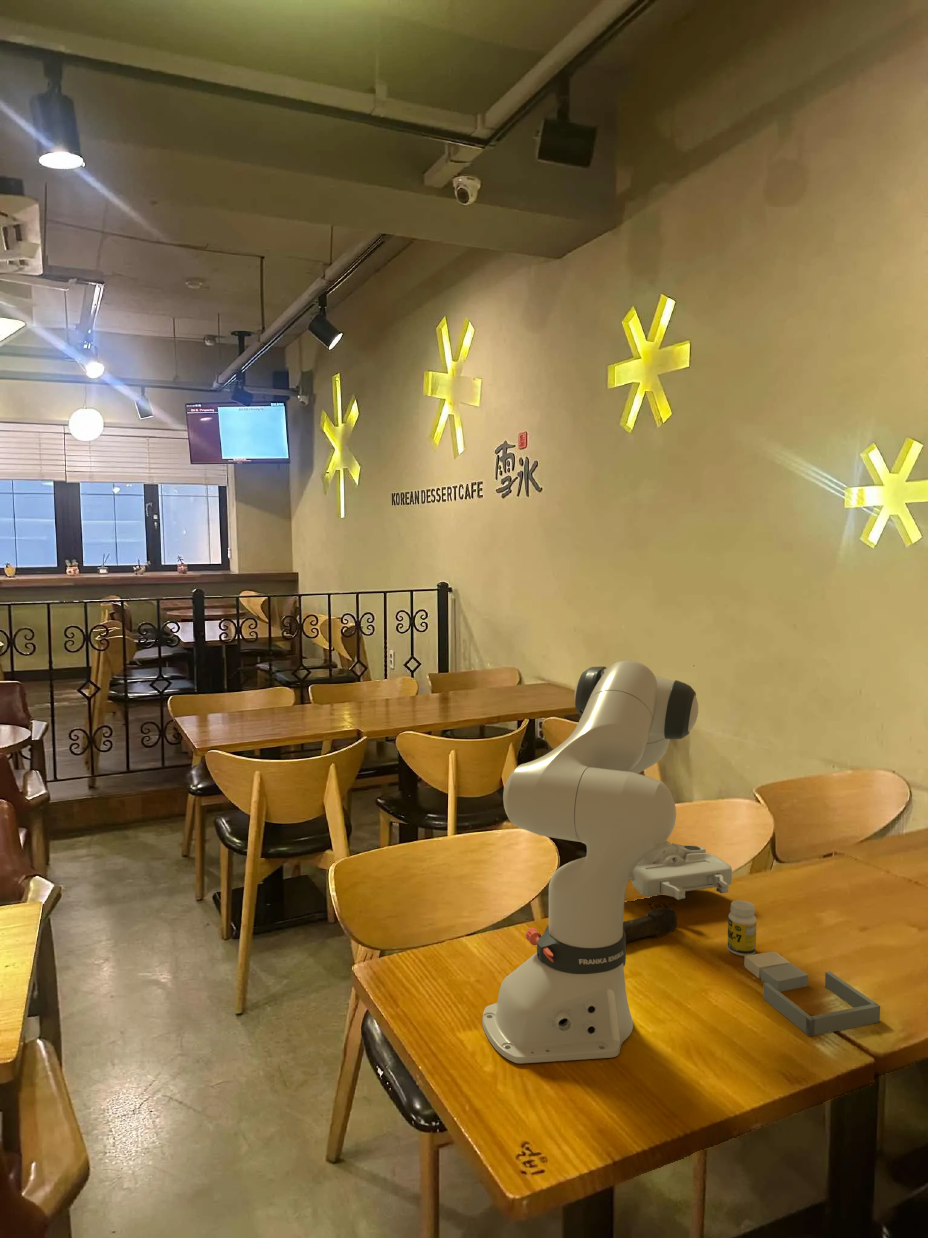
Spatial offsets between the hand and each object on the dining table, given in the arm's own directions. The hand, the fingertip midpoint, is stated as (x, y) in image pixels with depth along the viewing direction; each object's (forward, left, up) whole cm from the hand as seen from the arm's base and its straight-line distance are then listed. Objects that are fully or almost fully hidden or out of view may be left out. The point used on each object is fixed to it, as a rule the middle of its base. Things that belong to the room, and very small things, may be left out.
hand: (703, 892), depth 158 cm
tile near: (0, -24, -6) cm, 24 cm away
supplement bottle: (0, -12, -6) cm, 14 cm away
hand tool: (-16, -2, -6) cm, 17 cm away
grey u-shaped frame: (0, -32, -6) cm, 33 cm away
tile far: (0, -19, -6) cm, 20 cm away
